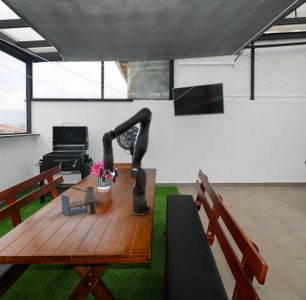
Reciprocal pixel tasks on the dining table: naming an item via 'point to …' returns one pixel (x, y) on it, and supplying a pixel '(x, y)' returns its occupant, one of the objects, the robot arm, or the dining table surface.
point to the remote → (92, 206)
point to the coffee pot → (89, 194)
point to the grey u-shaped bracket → (72, 206)
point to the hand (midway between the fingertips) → (108, 182)
